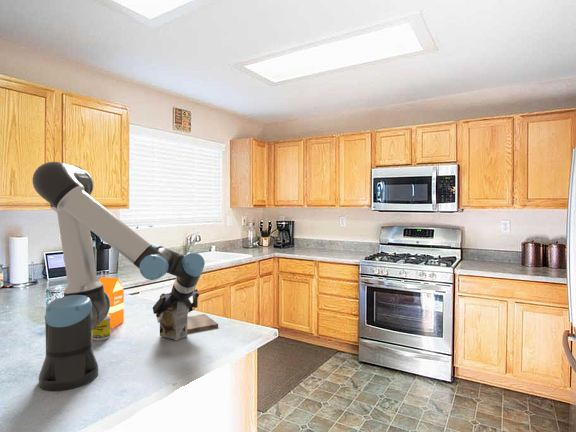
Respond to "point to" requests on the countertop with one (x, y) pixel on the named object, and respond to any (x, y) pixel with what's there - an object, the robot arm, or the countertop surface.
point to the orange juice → (114, 299)
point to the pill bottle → (102, 329)
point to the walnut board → (200, 323)
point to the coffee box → (174, 321)
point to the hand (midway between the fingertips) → (171, 317)
